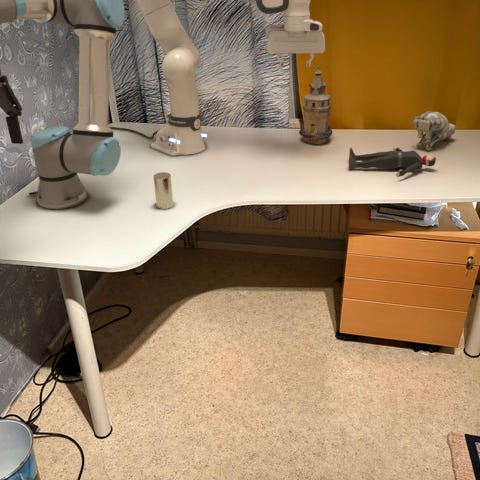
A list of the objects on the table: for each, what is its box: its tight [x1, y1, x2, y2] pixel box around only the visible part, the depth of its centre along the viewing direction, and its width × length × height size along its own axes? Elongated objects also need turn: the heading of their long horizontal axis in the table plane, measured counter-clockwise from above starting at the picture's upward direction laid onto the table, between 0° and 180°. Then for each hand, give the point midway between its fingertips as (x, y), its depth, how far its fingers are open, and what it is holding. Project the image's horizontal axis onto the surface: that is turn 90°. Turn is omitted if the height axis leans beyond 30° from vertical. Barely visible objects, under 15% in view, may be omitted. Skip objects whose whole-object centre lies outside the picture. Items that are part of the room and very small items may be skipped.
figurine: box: [412, 111, 456, 152], centre depth 210 cm, size 10×19×20 cm
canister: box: [152, 171, 174, 210], centre depth 166 cm, size 5×5×10 cm
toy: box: [348, 146, 437, 178], centre depth 192 cm, size 26×6×30 cm
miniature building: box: [298, 65, 333, 145], centre depth 213 cm, size 13×14×30 cm
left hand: (2, 153), depth 126 cm, fingers open, 13 cm apart
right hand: (294, 66), depth 189 cm, fingers open, 8 cm apart
